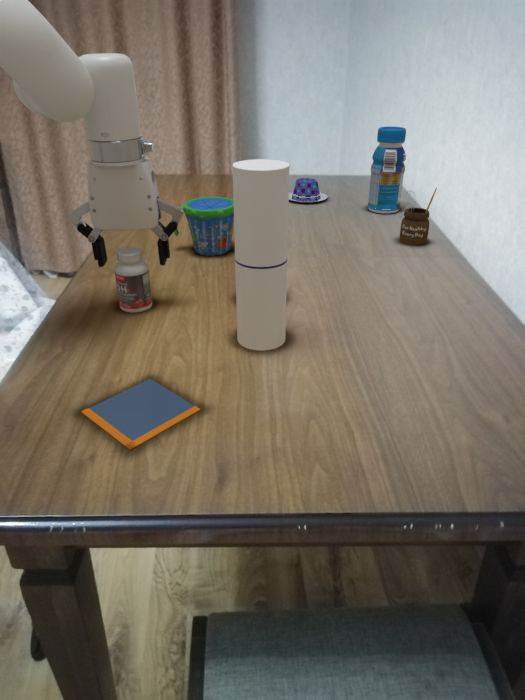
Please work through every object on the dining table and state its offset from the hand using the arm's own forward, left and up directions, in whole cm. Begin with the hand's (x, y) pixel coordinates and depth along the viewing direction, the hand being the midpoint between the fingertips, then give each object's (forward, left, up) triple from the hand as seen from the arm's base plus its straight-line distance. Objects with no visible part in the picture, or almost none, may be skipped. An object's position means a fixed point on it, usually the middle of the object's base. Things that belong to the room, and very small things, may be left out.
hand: (133, 263), depth 86 cm
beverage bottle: (-2, +79, -8) cm, 79 cm away
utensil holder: (+17, +61, -8) cm, 63 cm away
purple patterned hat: (-24, +74, -8) cm, 78 cm away
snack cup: (-11, +27, -8) cm, 30 cm away
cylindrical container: (+23, +6, -8) cm, 25 cm away
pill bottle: (0, 0, -8) cm, 8 cm away
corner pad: (+25, -17, -8) cm, 31 cm away
